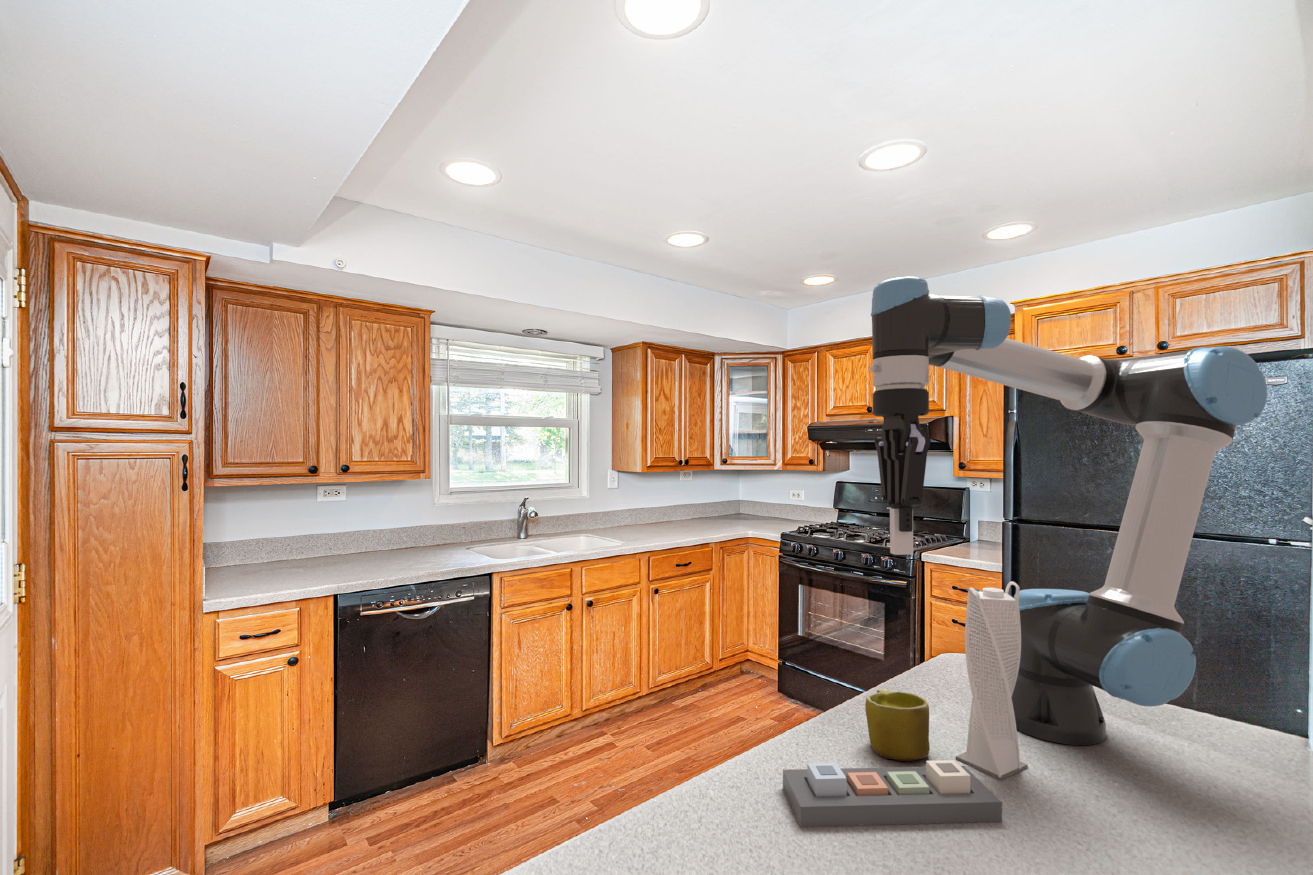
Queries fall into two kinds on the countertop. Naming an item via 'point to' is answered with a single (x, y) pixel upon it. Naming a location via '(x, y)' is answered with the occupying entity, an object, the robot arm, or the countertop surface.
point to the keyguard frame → (889, 803)
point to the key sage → (907, 783)
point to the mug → (898, 725)
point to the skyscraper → (993, 680)
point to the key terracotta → (866, 784)
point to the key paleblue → (826, 780)
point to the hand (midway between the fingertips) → (901, 553)
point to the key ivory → (947, 777)
